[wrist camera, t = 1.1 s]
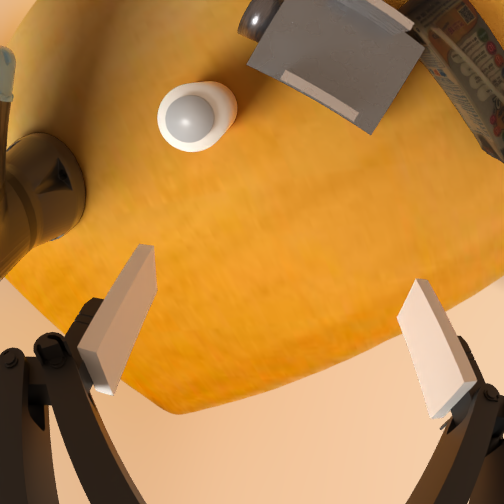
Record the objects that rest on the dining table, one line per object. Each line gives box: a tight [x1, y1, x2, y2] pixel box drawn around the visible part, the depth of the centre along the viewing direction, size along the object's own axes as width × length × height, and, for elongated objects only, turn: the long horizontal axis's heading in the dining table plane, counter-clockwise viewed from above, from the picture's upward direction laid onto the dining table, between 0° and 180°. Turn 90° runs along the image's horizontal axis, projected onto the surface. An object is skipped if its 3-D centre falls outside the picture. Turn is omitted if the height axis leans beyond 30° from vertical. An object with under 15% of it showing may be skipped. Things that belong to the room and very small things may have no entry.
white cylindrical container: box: [157, 81, 238, 152], centre depth 27 cm, size 6×6×8 cm
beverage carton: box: [397, 0, 504, 163], centre depth 22 cm, size 8×19×7 cm, turn 49°
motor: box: [238, 0, 425, 135], centre depth 22 cm, size 14×10×10 cm
